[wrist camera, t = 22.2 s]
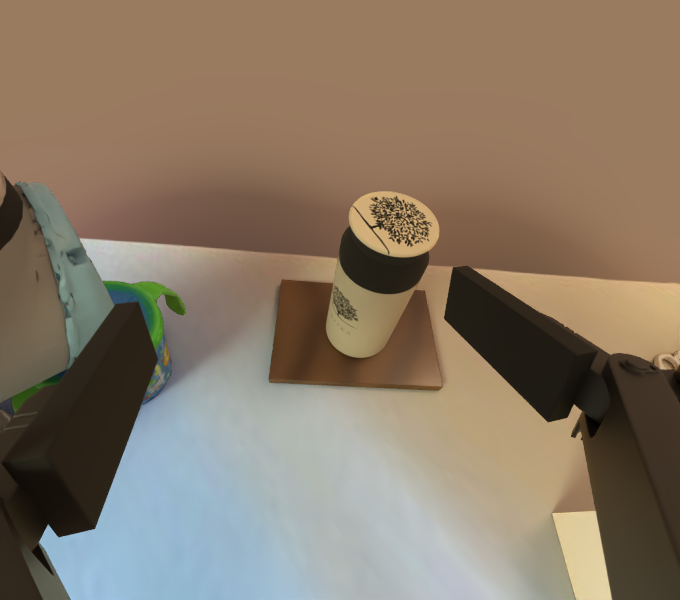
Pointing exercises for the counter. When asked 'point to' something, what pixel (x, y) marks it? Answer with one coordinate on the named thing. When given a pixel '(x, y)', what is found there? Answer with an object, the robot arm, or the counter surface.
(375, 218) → the travel mug
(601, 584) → the white slotted tapered block
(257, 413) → the counter surface
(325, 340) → the walnut board
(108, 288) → the snack cup
